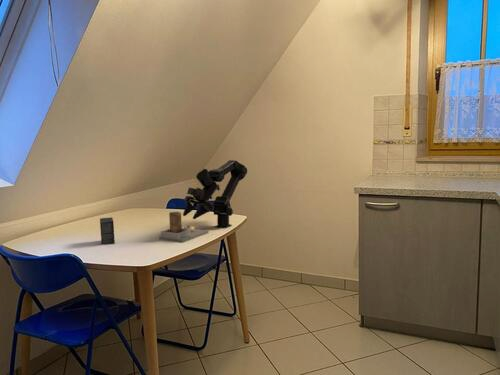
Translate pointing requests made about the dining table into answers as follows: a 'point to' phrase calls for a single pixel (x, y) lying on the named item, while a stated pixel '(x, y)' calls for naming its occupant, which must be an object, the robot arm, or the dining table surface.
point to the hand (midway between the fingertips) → (188, 217)
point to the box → (107, 230)
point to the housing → (182, 234)
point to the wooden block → (175, 222)
